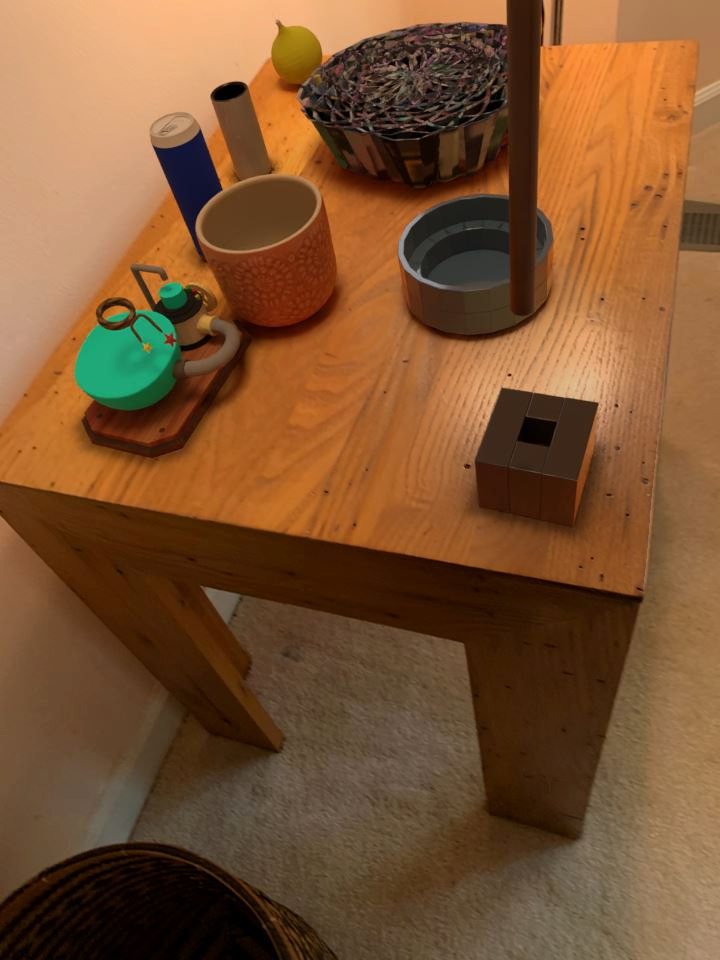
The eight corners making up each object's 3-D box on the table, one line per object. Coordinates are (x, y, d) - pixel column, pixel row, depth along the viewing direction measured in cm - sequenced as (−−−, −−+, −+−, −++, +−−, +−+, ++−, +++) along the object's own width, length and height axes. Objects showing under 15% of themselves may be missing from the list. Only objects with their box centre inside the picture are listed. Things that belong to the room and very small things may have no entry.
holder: (593, 451, 60) (598, 402, 55) (573, 526, 56) (577, 480, 52) (503, 435, 63) (501, 386, 58) (478, 506, 59) (474, 460, 54)
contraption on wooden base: (281, 330, 76) (234, 198, 64) (195, 468, 67) (122, 345, 55) (167, 312, 81) (104, 187, 69) (74, 438, 72) (-17, 320, 60)
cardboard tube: (250, 186, 92) (223, 105, 84) (230, 175, 95) (202, 95, 87) (278, 168, 94) (255, 86, 85) (258, 157, 96) (233, 77, 88)
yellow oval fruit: (275, 97, 105) (254, 21, 97) (283, 72, 109) (263, -3, 101) (324, 90, 103) (307, 13, 96) (330, 65, 108) (314, -11, 100)
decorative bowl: (500, 228, 82) (504, 144, 73) (276, 194, 90) (258, 115, 82) (555, 103, 94) (564, 19, 86) (355, 83, 102) (346, 4, 94)
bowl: (565, 251, 75) (568, 198, 70) (530, 350, 68) (531, 299, 63) (431, 239, 80) (425, 189, 75) (386, 330, 73) (376, 281, 68)
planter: (286, 360, 73) (253, 270, 64) (207, 315, 79) (168, 228, 70) (370, 287, 77) (350, 193, 68) (289, 250, 83) (261, 160, 75)
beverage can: (219, 230, 88) (171, 106, 76) (251, 241, 86) (206, 114, 74) (190, 257, 86) (136, 133, 74) (222, 268, 83) (171, 142, 72)
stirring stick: (537, 301, 49) (550, -218, 29) (531, 318, 49) (541, -203, 28) (513, 298, 50) (509, -213, 29) (507, 314, 49) (499, -199, 28)
